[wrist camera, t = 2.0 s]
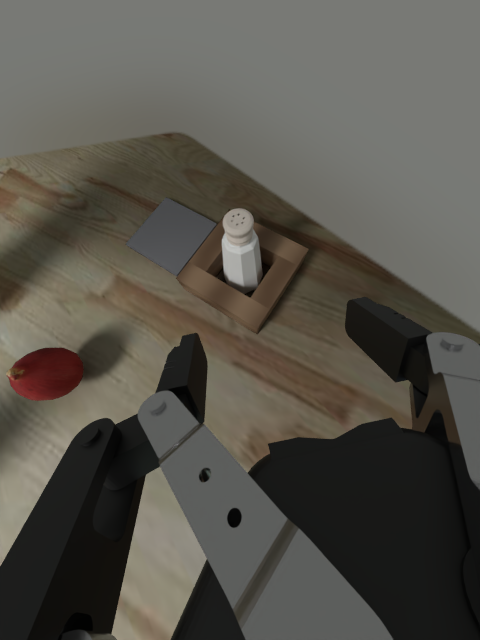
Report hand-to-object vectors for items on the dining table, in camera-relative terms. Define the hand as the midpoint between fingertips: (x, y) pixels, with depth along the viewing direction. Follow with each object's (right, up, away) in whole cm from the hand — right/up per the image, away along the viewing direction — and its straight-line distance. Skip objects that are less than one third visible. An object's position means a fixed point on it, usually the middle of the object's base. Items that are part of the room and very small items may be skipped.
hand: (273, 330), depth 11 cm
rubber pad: (-12, +13, +20) cm, 27 cm away
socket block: (-1, +7, +18) cm, 19 cm away
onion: (-23, -6, +16) cm, 29 cm away
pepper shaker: (-1, +7, +18) cm, 19 cm away
